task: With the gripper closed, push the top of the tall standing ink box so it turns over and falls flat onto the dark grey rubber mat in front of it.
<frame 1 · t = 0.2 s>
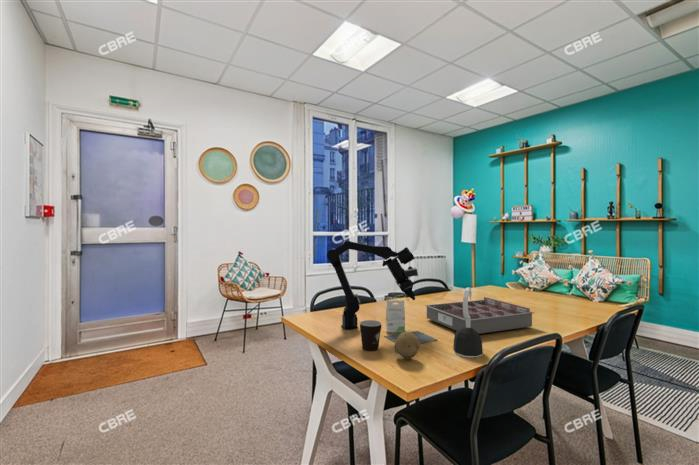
hand: (412, 297, 160), 15 cm above the table, tool tilted 30°, fingers open, 9 cm apart
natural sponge: (407, 360, 121), on the table
mat: (410, 338, 145), on the table
organizer tray: (477, 325, 167), on the table
ink box: (395, 331, 156), on the table
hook: (467, 353, 128), on the table
coffee mug: (373, 348, 133), on the table
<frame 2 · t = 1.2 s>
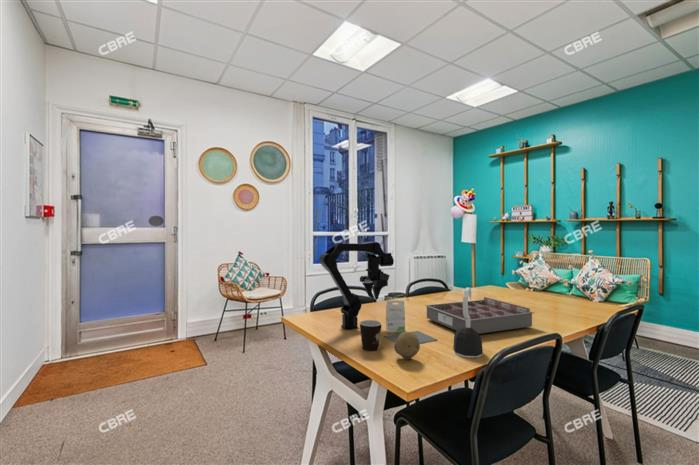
hand: (373, 298, 166), 13 cm above the table, tool pointing down, fingers open, 6 cm apart
nothing on the table moved.
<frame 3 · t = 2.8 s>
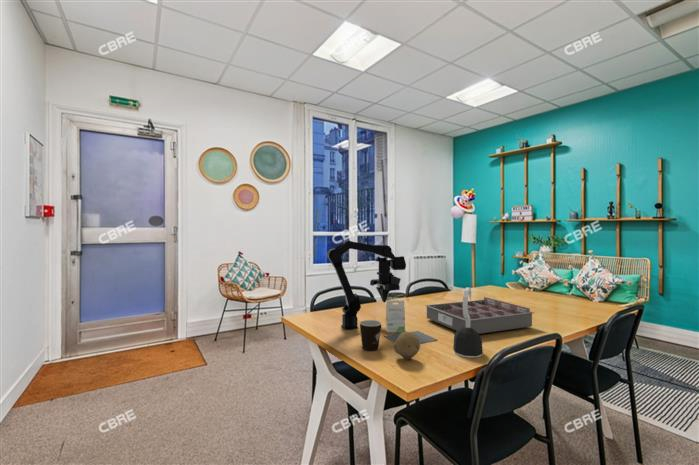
hand: (384, 302, 164), 12 cm above the table, tool pointing down, fingers closed
nothing on the table moved.
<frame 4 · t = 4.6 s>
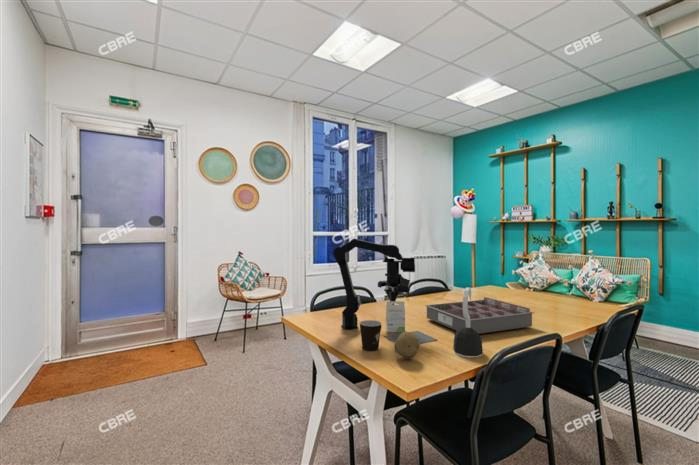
hand: (392, 304, 157), 12 cm above the table, tool pointing down, fingers closed
ink box: (395, 330, 156), on the table, touching gripper
everything else where it was.
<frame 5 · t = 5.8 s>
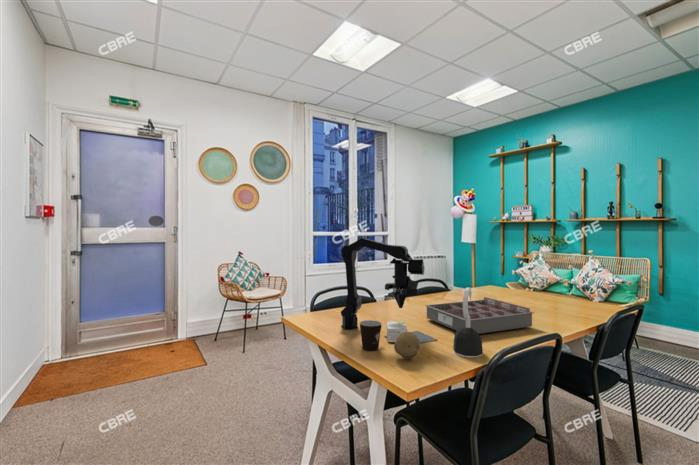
hand: (400, 308, 151), 12 cm above the table, tool pointing down, fingers closed
ink box: (395, 326, 153), point 3 cm above the table, touching mat
everything else where it was.
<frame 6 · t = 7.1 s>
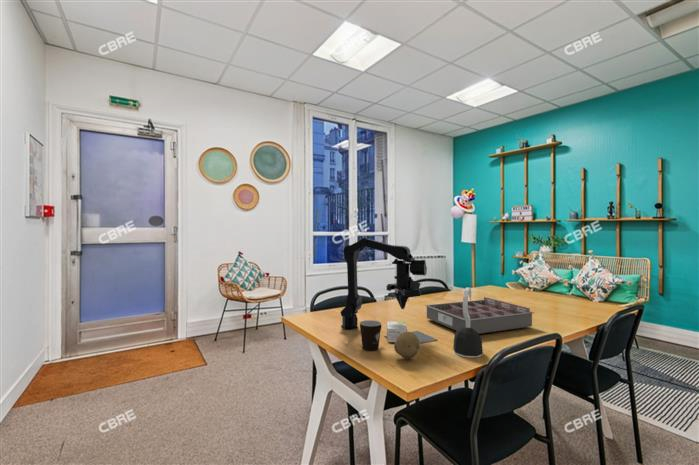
hand: (402, 309, 150), 11 cm above the table, tool pointing down, fingers closed
nothing on the table moved.
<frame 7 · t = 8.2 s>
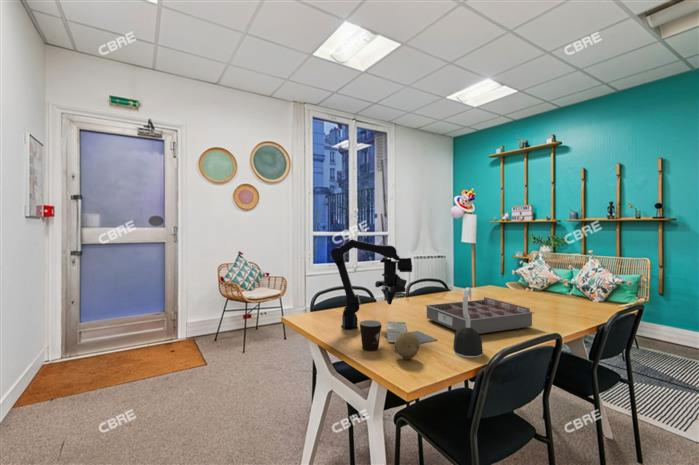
hand: (389, 304, 160), 11 cm above the table, tool pointing down, fingers closed
nothing on the table moved.
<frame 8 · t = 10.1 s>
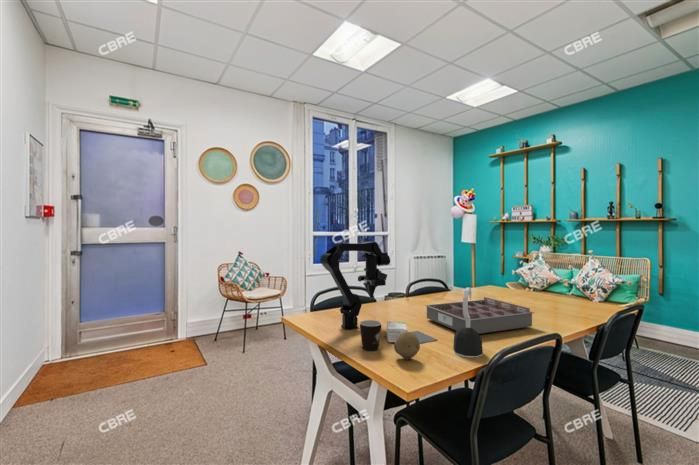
hand: (371, 297, 168), 13 cm above the table, tool pointing down, fingers closed
nothing on the table moved.
at the end: ink box tilted 90°; ink box inside the target area (10.2 cm from its centre), point 2.8 cm above the table; the gripper is holding nothing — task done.
